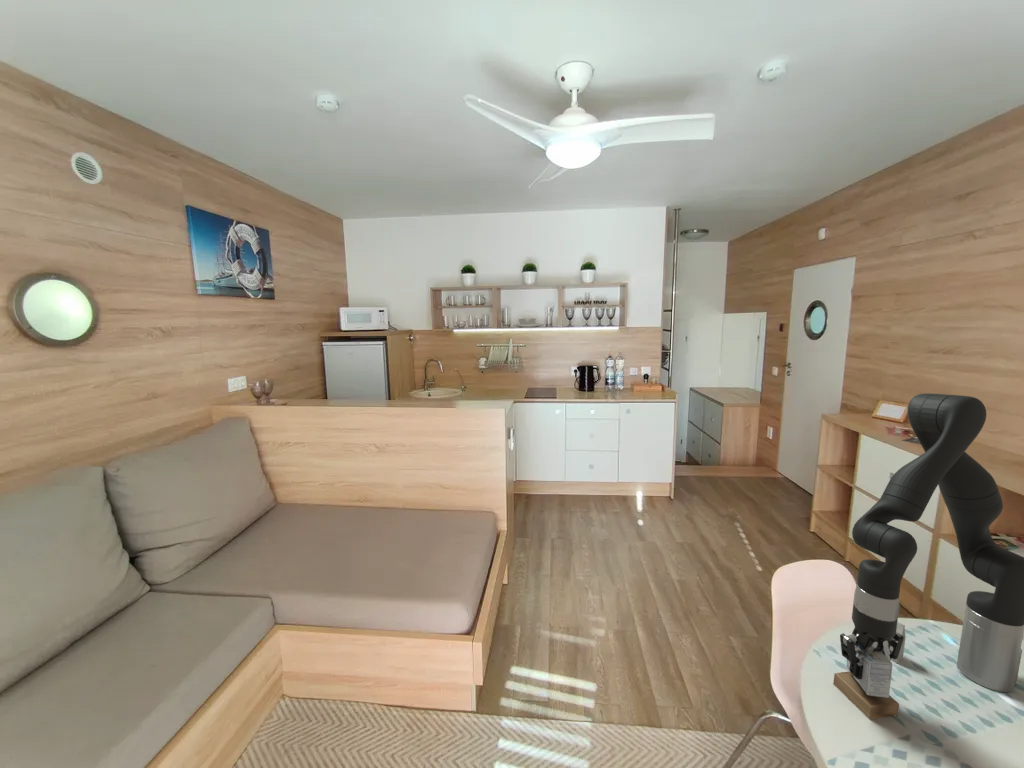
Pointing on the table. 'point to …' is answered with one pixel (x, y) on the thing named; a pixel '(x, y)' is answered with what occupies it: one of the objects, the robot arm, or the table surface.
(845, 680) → the brown flat rectangular block
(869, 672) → the medicine box
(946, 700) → the table surface
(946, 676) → the table surface
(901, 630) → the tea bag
